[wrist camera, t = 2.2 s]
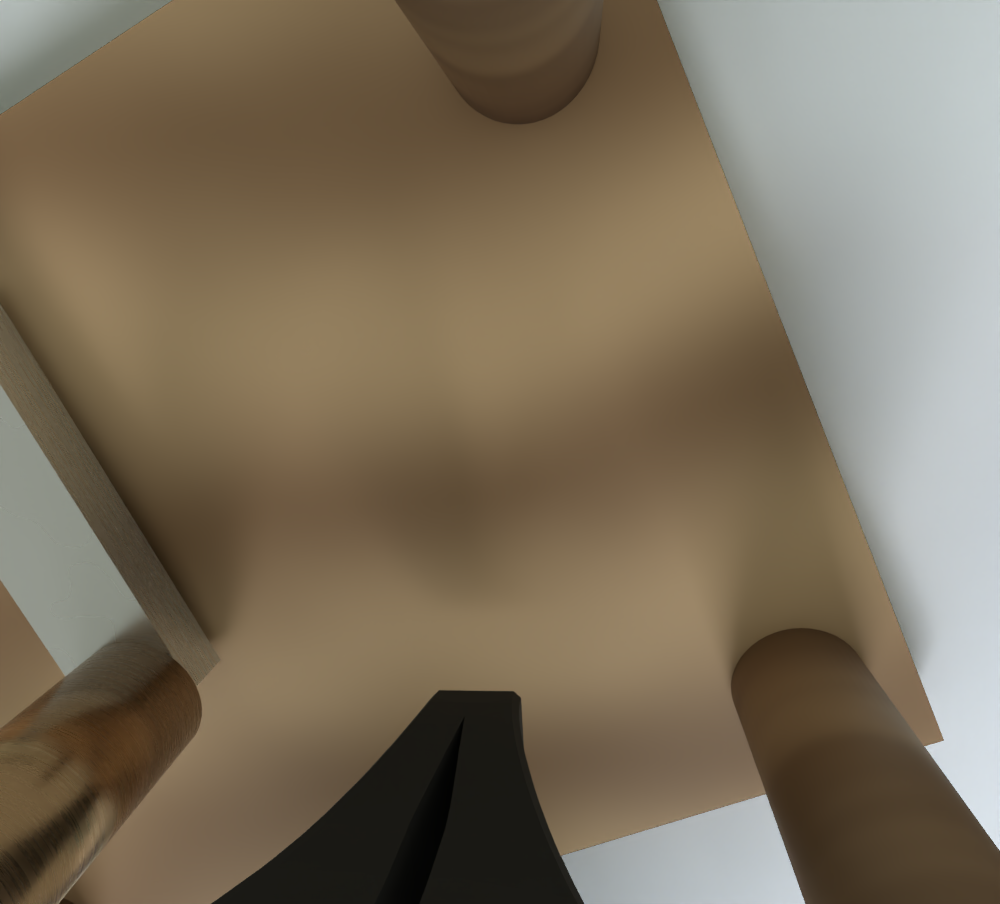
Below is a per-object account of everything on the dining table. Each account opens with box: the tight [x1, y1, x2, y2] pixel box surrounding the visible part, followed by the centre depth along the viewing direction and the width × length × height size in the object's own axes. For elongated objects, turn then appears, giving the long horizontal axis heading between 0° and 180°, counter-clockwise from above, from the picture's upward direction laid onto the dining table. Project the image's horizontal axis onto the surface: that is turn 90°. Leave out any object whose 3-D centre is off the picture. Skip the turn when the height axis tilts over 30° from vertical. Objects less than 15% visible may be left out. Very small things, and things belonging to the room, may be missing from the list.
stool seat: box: [0, 0, 1000, 904], centre depth 11 cm, size 17×22×7 cm
